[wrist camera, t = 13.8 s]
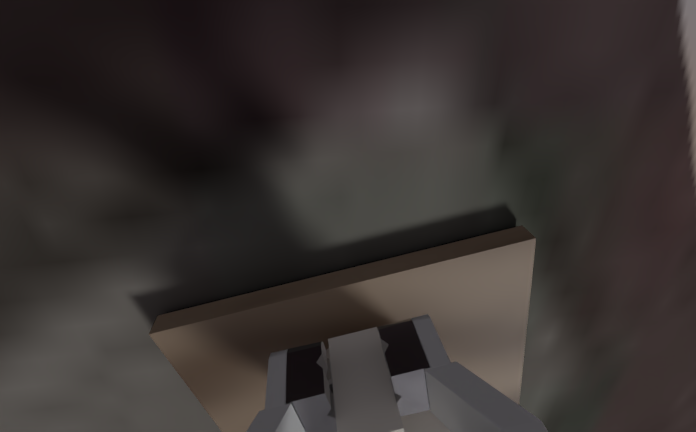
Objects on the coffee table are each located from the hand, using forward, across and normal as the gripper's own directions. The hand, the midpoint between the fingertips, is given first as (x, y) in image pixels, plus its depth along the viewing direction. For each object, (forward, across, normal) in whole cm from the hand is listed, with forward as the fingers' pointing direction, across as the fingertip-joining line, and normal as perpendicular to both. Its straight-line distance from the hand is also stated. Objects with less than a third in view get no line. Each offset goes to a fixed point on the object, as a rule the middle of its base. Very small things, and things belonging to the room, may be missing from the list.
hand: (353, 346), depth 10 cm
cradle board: (+5, 0, +13) cm, 14 cm away
